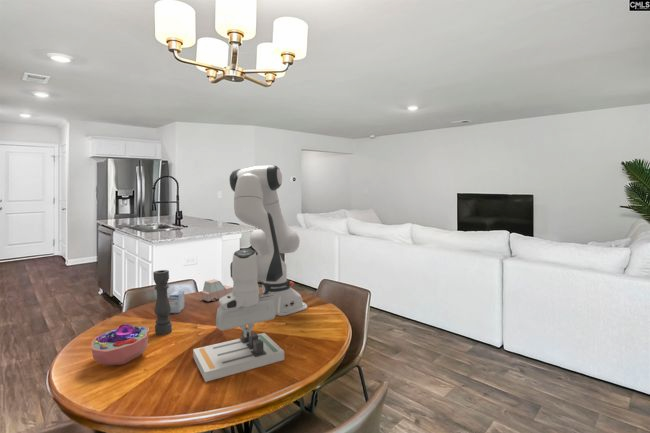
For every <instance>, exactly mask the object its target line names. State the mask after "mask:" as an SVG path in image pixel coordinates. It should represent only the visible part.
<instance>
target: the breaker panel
mask: <svg viewBox="0 0 650 433" xmlns="http://www.w3.org/2000/svg"><path fill="white" fill-rule="evenodd" d="M256 334H257V333H256ZM257 335H258V339H261V340H262V341H263V350H264V351H265V352H266V354H264V355H260V356H257V357H254V355H253V354H252V353H251V351H253V349H249V348H248V346H247V345H246V344H249V342H246V343H242V341H241V340H240V338H236V339H232V340H228V341H223V342H219V343H214V344H210V345H205V346H202V347H198V348H197V347H196V348H193V349H192V353H193V354H192V357H193V360H194V362H195V364H196V367H197V368H198V370H199V372H200V374H201V375H202V376H201V377H202V379H203V381H204V382H205V383H207V382H210V381H213V380H217V379H221V378H224V377H228V376H232V375H235V374H239V373H243V372H246V371H249V370H252V369H256V368H261V367H264V366H266V365H267V366H268V365H271V364H274V363H278V362H281V361H285V350H284V349H282V348H281V347H280V346H279V345H278V344H277V343H276V342H275V341H274V340H273V339H272V338H271V337H270V336H269V335H267V334H266V333H265V332H263V333H258V334H257Z"/></svg>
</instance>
